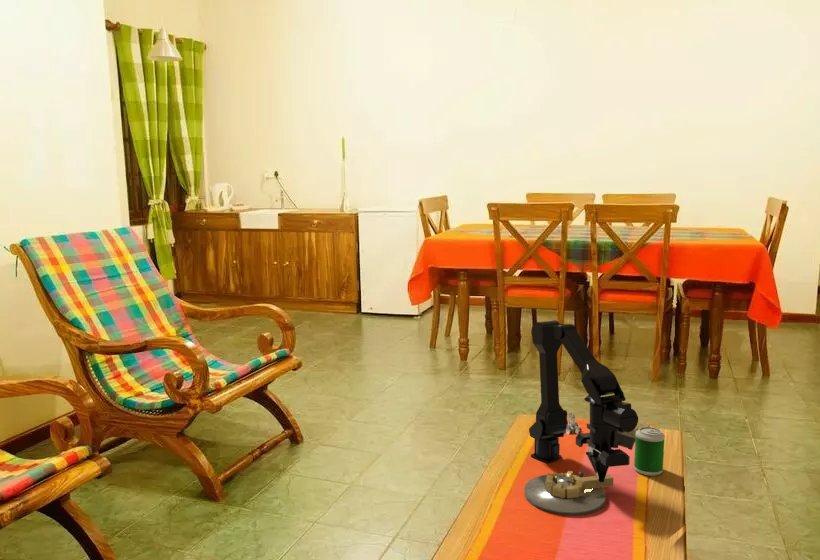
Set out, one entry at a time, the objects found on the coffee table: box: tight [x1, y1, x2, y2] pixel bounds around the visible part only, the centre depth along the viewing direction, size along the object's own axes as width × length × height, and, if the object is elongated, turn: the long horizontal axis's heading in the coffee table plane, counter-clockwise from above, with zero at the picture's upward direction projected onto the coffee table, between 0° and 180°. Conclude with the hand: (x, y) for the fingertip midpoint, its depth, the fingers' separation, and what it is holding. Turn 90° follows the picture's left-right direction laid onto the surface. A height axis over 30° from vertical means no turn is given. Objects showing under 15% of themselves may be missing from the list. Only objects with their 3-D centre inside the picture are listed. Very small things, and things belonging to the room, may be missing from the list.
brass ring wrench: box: [545, 470, 614, 498], centre depth 179 cm, size 18×9×3 cm, turn 104°
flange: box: [524, 471, 606, 516], centre depth 178 cm, size 20×20×4 cm
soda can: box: [633, 426, 665, 477], centre depth 192 cm, size 8×8×12 cm
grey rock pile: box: [565, 412, 582, 435], centre depth 217 cm, size 9×9×8 cm
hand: (601, 481), depth 179 cm, fingers closed, pressing on brass ring wrench
